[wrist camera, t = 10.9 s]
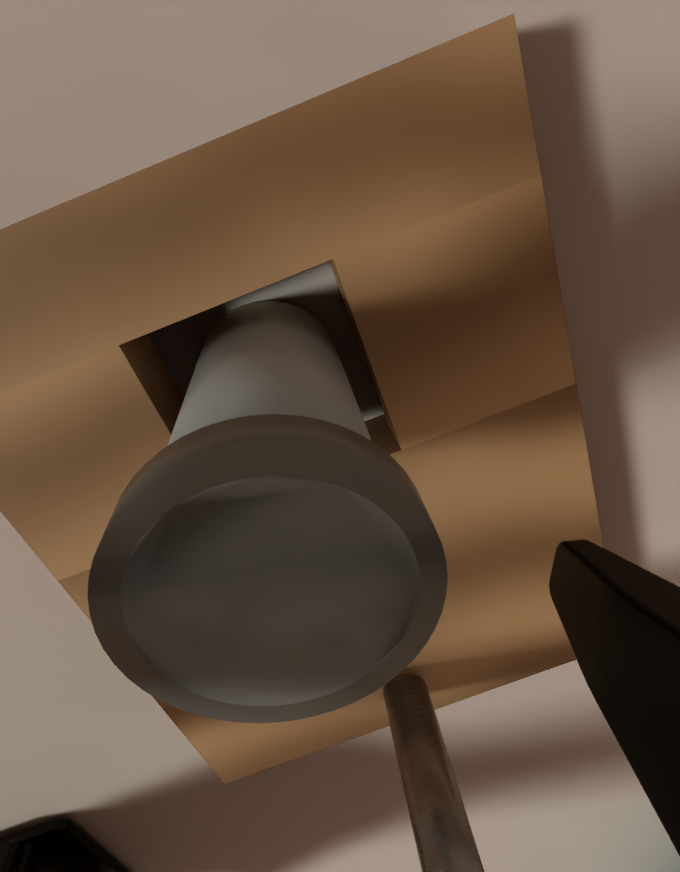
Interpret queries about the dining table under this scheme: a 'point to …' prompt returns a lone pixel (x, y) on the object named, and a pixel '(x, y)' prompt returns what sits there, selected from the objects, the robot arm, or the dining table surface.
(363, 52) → the dining table surface
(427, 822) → the bar
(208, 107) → the dining table surface
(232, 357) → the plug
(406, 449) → the socket base
